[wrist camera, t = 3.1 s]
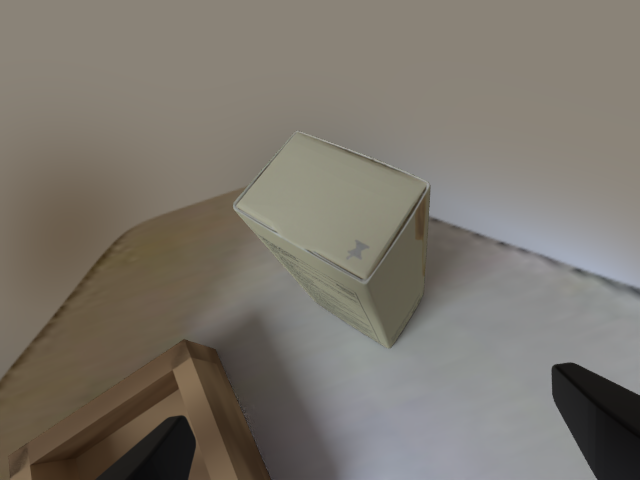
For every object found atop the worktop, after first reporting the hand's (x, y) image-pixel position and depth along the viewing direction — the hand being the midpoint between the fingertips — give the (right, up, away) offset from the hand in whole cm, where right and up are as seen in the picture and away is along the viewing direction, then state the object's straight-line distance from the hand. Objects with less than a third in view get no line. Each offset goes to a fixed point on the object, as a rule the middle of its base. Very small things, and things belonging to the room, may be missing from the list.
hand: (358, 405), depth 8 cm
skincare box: (+2, 0, +15) cm, 15 cm away
